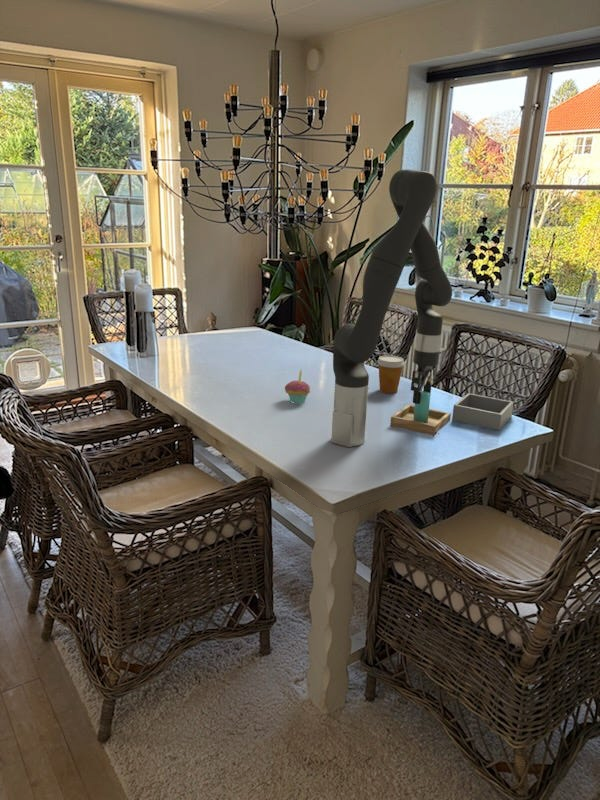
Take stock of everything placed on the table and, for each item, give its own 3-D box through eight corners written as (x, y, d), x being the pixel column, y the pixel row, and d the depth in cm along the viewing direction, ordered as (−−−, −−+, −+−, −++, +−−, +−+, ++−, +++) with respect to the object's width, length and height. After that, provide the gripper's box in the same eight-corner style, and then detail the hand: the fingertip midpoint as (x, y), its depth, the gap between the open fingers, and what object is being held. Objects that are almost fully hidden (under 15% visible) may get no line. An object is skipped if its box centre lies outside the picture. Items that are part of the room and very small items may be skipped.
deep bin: (498, 433, 183) (501, 414, 181) (451, 423, 190) (453, 404, 188) (511, 419, 195) (513, 401, 193) (466, 410, 202) (468, 393, 200)
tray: (433, 436, 179) (435, 426, 178) (390, 425, 186) (391, 416, 185) (449, 422, 191) (450, 413, 190) (408, 413, 198) (408, 404, 197)
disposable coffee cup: (405, 389, 221) (408, 357, 217) (395, 396, 213) (398, 363, 209) (381, 385, 226) (383, 353, 222) (370, 391, 218) (373, 359, 214)
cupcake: (314, 403, 204) (315, 369, 200) (292, 407, 200) (293, 372, 196) (301, 396, 211) (302, 362, 207) (280, 399, 207) (280, 365, 203)
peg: (424, 424, 185) (427, 396, 182) (411, 421, 187) (413, 394, 184) (429, 420, 189) (432, 392, 186) (416, 417, 191) (419, 390, 188)
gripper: (431, 354, 173) (424, 408, 178) (447, 345, 185) (441, 396, 190) (406, 350, 177) (400, 403, 182) (423, 342, 188) (418, 391, 194)
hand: (421, 399), depth 186 cm, fingers open, 8 cm apart
